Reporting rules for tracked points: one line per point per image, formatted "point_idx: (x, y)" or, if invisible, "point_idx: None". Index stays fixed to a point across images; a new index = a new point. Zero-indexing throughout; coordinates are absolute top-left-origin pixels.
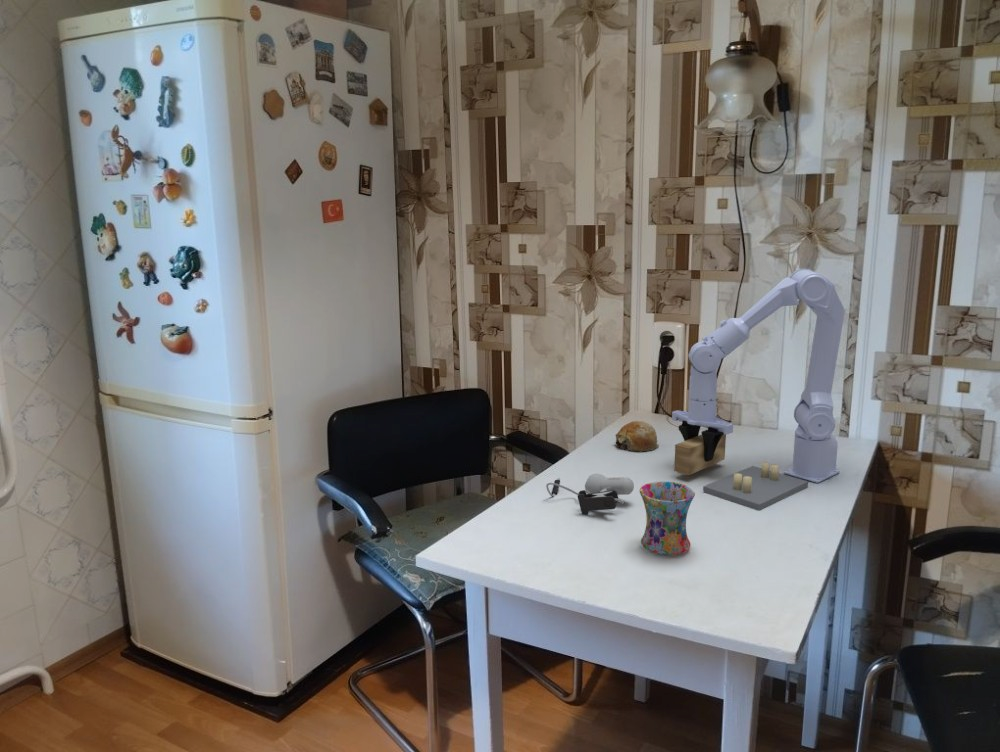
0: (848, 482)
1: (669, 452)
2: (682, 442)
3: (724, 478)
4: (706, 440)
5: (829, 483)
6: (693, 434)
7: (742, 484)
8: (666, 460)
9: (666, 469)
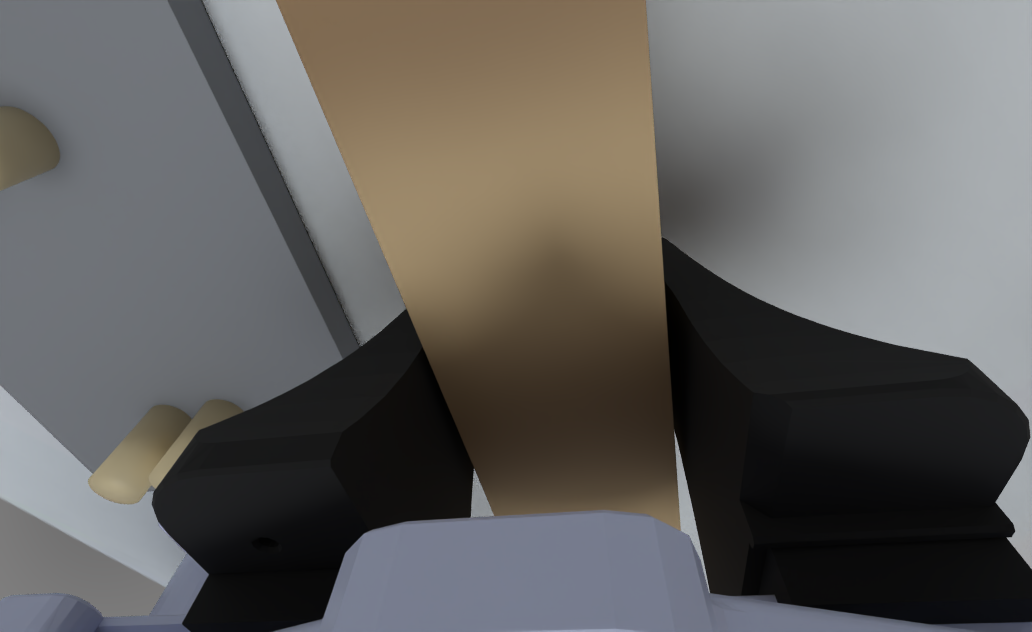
0: (159, 571)
1: (975, 332)
2: (630, 119)
3: (263, 217)
4: (338, 385)
5: (161, 535)
6: (698, 444)
7: (114, 233)
8: (913, 202)
9: (792, 35)
